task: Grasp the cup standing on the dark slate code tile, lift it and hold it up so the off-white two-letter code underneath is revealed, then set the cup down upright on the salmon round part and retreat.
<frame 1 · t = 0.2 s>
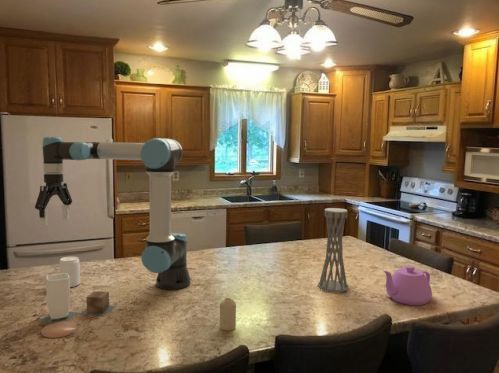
hand: (55, 222, 179), 28 cm above the kitchen island, fingers open, 13 cm apart
code tile B: (98, 310, 155), on the kitchen island
walnut block: (98, 309, 155), resting on code tile B
grey lattice tower: (333, 287, 184), on the kitchen island
candle: (227, 327, 143), on the kitchen island
beverage can: (70, 285, 181), on the kitchen island
teapot: (406, 299, 172), on the kitchen island
code tile A: (59, 317, 148), on the kitchen island
salmon round part: (59, 330, 138), on the kitchen island
cup: (59, 317, 148), resting on code tile A
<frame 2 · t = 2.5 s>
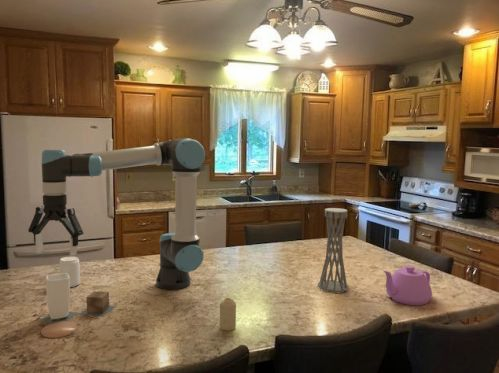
hand: (56, 253, 146), 23 cm above the kitchen island, fingers open, 13 cm apart
nothing on the kitchen island moved.
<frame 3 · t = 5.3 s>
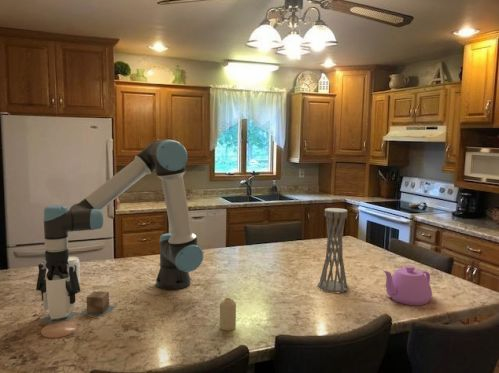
hand: (58, 310, 148), 2 cm above the kitchen island, fingers closed on cup, 9 cm apart
cup: (59, 317, 148), resting on code tile A, touching gripper
everything else where it was.
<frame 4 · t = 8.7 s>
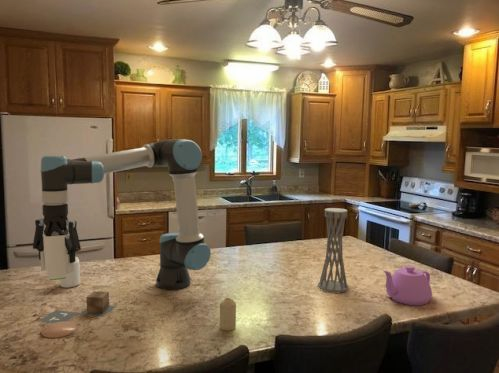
hand: (57, 270, 136), 20 cm above the kitchen island, fingers closed on cup, 9 cm apart
cup: (57, 278, 136), point 18 cm above the kitchen island, touching gripper
everything else where it was.
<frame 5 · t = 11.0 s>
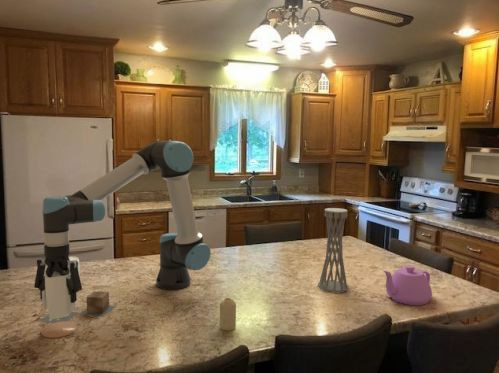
hand: (58, 310, 137), 7 cm above the kitchen island, fingers closed on cup, 9 cm apart
cup: (58, 317, 138), point 5 cm above the kitchen island, touching gripper
everything else where it was.
when the fingers open (4 cm above the kitchen island, at t = 12.6 s): cup drops 1 cm, resting on salmon round part.
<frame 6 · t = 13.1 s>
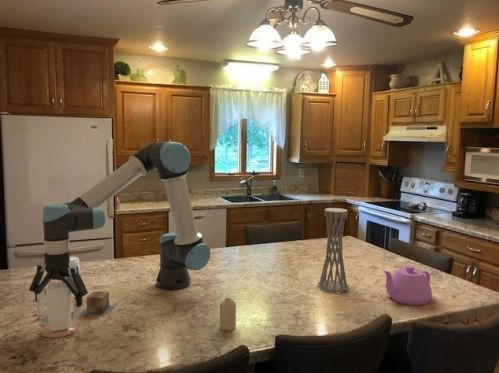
hand: (59, 313, 138), 6 cm above the kitchen island, fingers open, 13 cm apart
cup: (59, 328, 138), resting on salmon round part
everything else where it was.
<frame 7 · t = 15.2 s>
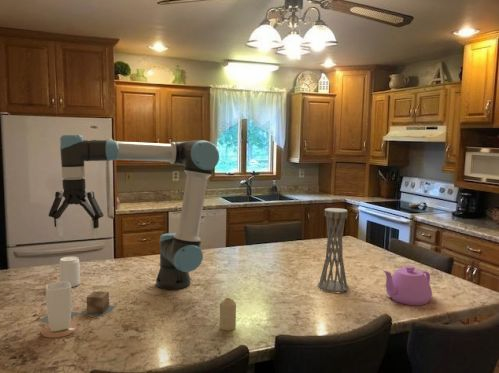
hand: (77, 236, 150), 29 cm above the kitchen island, fingers open, 13 cm apart
nothing on the kitchen island moved.
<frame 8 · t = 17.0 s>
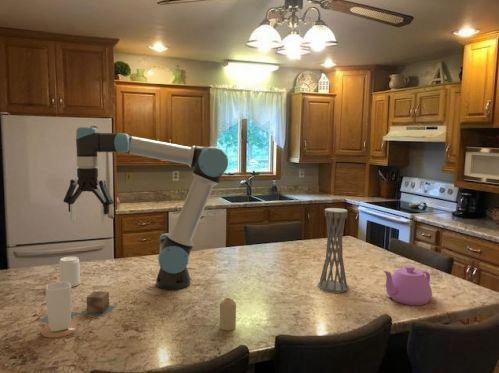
hand: (88, 221, 162), 32 cm above the kitchen island, fingers open, 13 cm apart
nothing on the kitchen island moved.
at the end: cup inside the target area on the salmon round part (0.0 cm from its centre), point 0.4 cm above the salmon round part's base; cup tilted 0°; cup touching salmon round part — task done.
